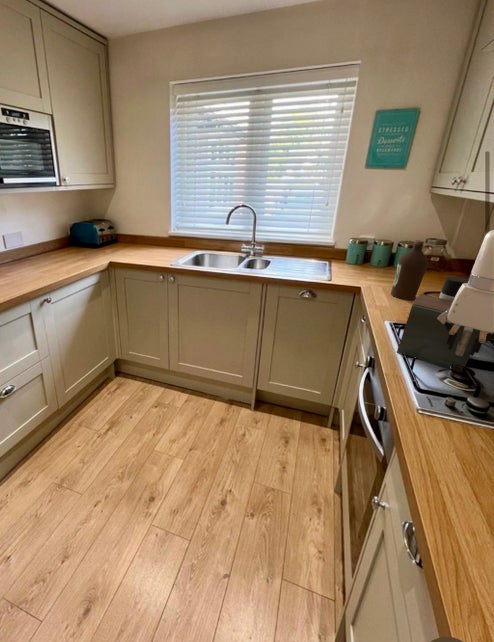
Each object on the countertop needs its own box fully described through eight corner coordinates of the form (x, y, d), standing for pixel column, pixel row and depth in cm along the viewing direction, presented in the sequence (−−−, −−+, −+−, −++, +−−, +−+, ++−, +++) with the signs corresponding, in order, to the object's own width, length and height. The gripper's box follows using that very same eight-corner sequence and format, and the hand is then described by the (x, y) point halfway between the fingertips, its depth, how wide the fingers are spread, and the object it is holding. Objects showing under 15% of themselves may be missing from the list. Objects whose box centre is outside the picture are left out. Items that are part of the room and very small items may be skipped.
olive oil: (416, 295, 150) (434, 240, 140) (416, 302, 141) (435, 245, 132) (389, 290, 155) (405, 237, 145) (388, 297, 147) (404, 241, 137)
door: (460, 383, 87) (483, 330, 81) (391, 360, 97) (407, 311, 91) (462, 372, 92) (484, 321, 86) (397, 351, 102) (412, 304, 96)
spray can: (453, 340, 110) (476, 284, 102) (429, 336, 112) (450, 280, 104) (446, 332, 116) (467, 277, 108) (424, 328, 118) (443, 275, 110)
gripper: (536, 288, 76) (503, 357, 83) (446, 272, 86) (424, 334, 93) (538, 296, 70) (503, 369, 77) (443, 278, 81) (420, 344, 88)
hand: (460, 349), depth 85 cm, fingers open, 3 cm apart
